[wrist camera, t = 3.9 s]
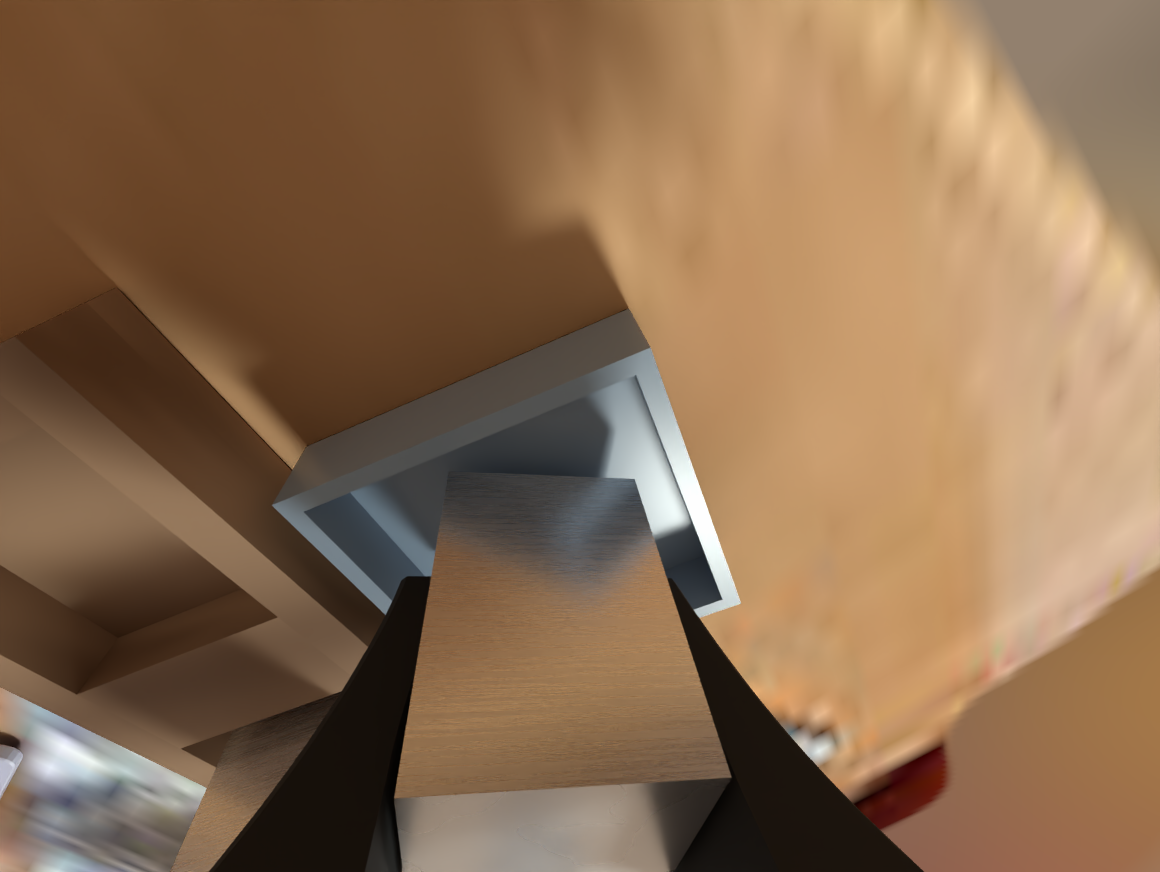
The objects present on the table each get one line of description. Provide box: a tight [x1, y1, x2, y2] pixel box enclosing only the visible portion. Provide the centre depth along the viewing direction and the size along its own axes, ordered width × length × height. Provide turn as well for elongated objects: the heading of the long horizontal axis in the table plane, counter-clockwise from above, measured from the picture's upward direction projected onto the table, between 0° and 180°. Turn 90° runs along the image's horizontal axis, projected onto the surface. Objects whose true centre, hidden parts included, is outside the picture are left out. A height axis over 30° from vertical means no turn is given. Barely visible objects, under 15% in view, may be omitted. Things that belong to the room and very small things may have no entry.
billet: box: [170, 692, 403, 872], centre depth 13 cm, size 4×4×6 cm
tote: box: [272, 309, 741, 618], centre depth 12 cm, size 8×8×2 cm
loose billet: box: [394, 471, 732, 872], centre depth 10 cm, size 4×4×6 cm
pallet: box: [0, 288, 385, 788], centre depth 13 cm, size 16×8×2 cm, turn 22°
